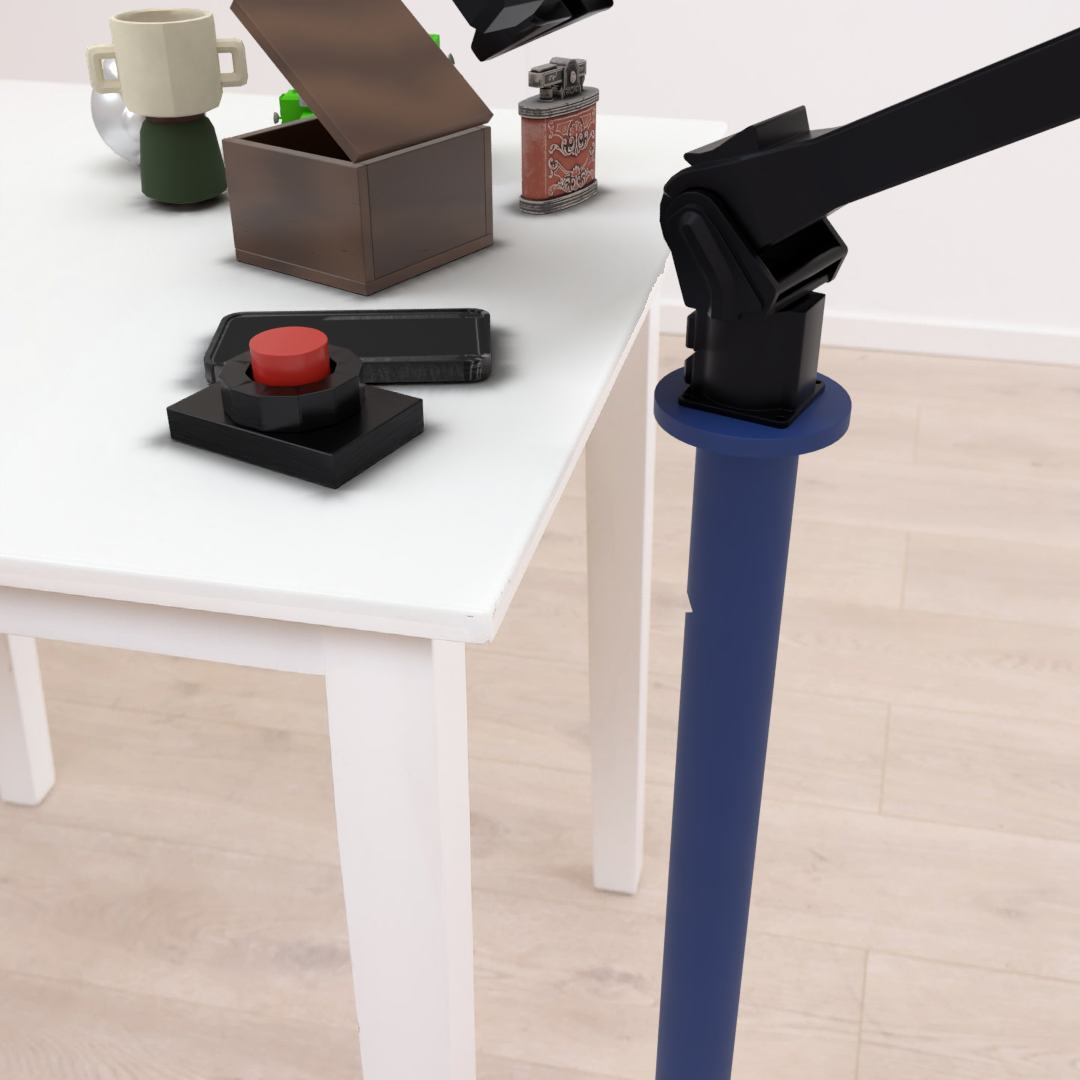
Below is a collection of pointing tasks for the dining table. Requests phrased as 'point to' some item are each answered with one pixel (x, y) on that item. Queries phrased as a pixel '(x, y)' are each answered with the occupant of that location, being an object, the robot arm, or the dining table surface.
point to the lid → (365, 71)
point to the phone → (375, 340)
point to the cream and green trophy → (171, 95)
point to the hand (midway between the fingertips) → (479, 54)
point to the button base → (299, 420)
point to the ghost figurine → (116, 120)
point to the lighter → (558, 137)
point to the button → (289, 356)
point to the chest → (357, 204)
